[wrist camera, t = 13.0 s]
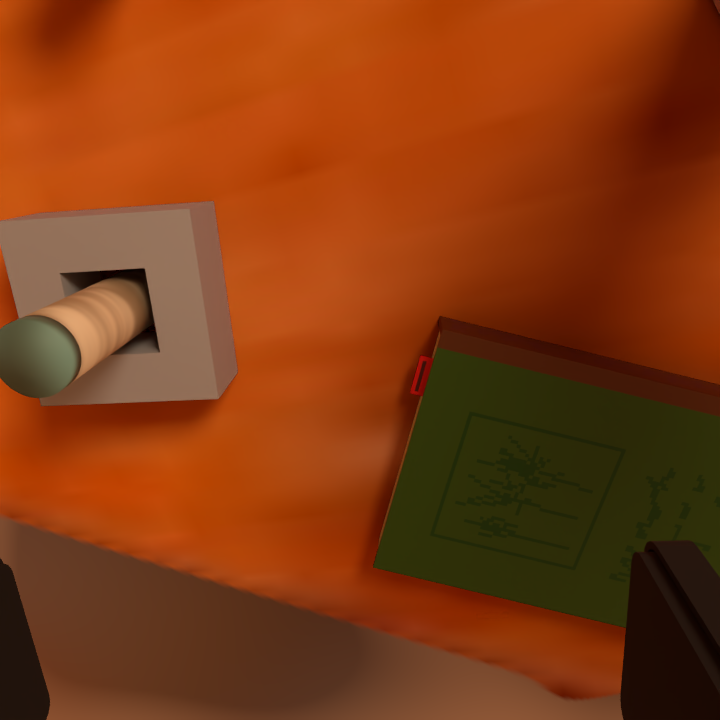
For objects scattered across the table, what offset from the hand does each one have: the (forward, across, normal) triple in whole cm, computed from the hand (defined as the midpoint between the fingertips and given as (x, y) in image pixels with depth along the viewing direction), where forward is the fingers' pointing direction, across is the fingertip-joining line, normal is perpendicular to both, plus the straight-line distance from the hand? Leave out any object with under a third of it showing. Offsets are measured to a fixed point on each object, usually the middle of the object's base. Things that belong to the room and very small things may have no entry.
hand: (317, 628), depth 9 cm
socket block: (+34, +17, +2) cm, 38 cm away
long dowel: (+34, +17, +2) cm, 38 cm away
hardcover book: (+35, -12, +17) cm, 41 cm away
